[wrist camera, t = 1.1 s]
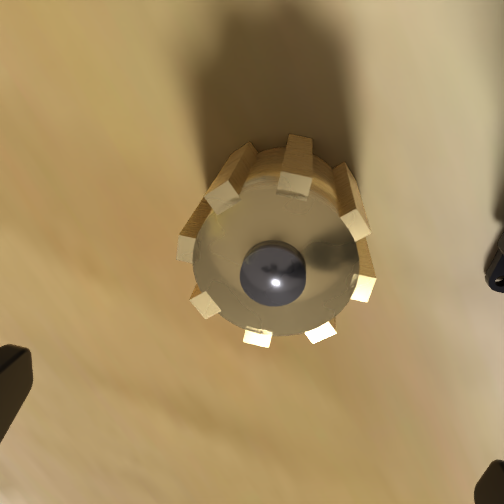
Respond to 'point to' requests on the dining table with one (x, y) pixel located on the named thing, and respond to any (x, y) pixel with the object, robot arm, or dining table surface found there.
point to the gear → (279, 243)
